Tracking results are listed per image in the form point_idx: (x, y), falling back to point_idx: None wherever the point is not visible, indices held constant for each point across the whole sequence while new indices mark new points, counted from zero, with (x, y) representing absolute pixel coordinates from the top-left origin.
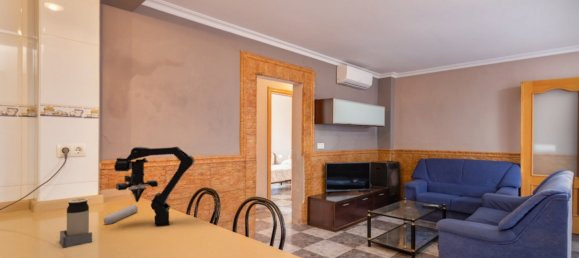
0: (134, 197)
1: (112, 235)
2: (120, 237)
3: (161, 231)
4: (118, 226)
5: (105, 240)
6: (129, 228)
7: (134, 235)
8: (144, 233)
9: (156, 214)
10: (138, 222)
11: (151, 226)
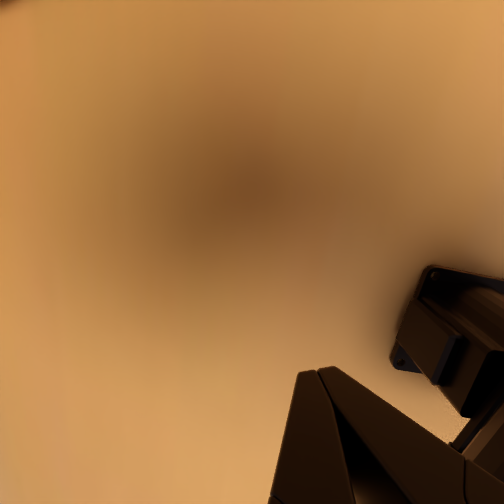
0: (283, 452)
1: (67, 411)
2: (123, 478)
3: None
4: (102, 161)
5: (31, 491)
6: (195, 294)
7: (212, 482)
8: None
9: (458, 409)
10: (298, 120)
11: (364, 335)
